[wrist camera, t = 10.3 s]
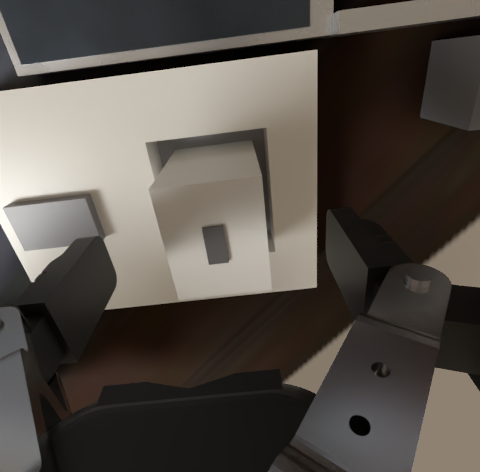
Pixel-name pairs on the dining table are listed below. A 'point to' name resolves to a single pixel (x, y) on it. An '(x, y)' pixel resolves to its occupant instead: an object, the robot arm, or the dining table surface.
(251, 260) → the block
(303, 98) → the power strip
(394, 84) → the dining table surface
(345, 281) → the robot arm
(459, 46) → the cable plug
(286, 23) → the white two-window frame
